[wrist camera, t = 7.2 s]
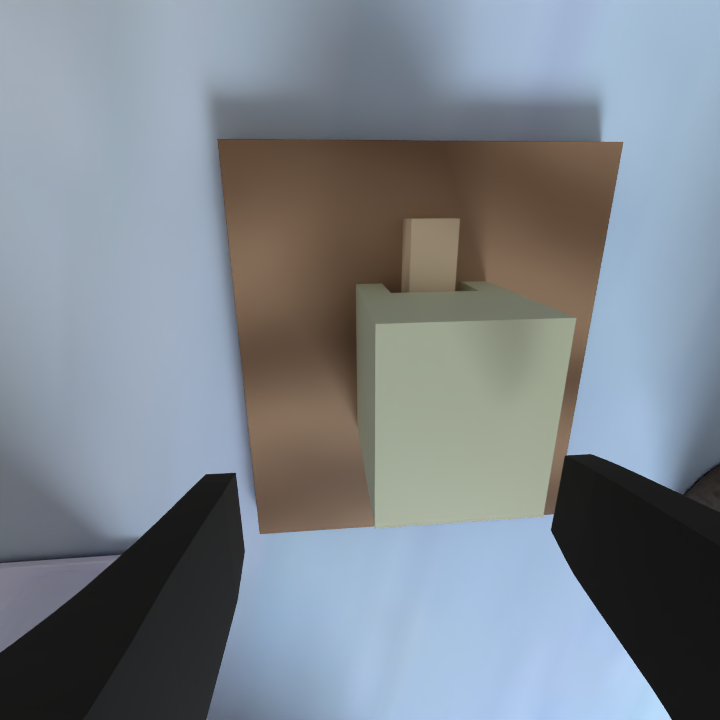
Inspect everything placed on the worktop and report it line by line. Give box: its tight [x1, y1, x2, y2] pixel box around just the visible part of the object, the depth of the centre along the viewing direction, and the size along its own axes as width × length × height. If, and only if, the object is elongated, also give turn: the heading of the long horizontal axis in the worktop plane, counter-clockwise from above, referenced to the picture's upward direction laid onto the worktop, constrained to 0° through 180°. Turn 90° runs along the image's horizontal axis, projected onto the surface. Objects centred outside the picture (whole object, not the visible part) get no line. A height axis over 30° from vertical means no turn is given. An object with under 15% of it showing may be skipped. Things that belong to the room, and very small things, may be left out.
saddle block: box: [356, 281, 576, 528], centre depth 14 cm, size 6×5×6 cm
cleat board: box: [218, 139, 623, 534], centre depth 17 cm, size 16×14×3 cm
